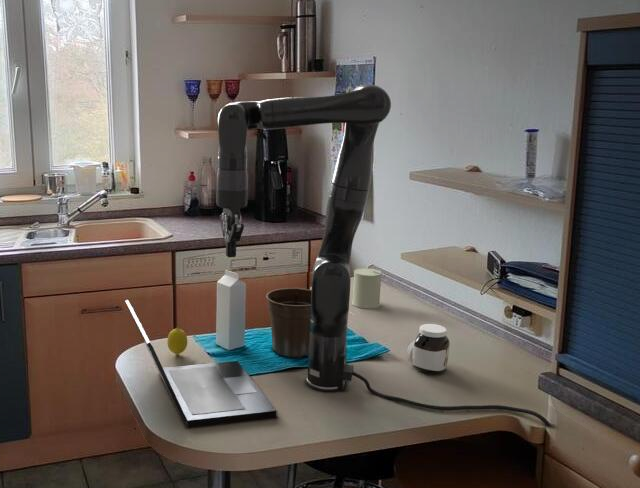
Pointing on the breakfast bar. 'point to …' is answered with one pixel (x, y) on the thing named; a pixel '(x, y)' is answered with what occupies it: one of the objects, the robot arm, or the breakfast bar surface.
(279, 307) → the plant pot
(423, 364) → the spread jar
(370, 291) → the can
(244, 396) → the laptop
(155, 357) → the laptop screen
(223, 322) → the milk
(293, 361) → the breakfast bar surface
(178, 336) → the lemon
